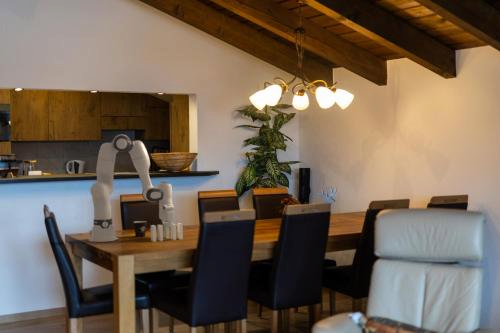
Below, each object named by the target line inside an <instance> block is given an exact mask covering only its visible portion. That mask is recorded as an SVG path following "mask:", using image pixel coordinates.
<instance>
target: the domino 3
mask: <svg viewBox="0 0 500 333" xmlns="http://www.w3.org/2000/svg"><path fill="white" fill-rule="evenodd" d="M163 239H170V228H167V221H165V222H164V226H163Z"/></svg>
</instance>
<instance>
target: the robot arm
mask: <svg viewBox="0 0 500 333" xmlns="http://www.w3.org/2000/svg"><path fill="white" fill-rule="evenodd" d="M119 152H122V153H124V152H127V153H128V154H129V155H130V158H131V161H132V164H133V166H134V168H135V170H136V172H137V173H138V175H139V179H140V182H141V186H142V193H141V194H142V198H143V200H144V201H146V202H150V203H156V202H158V209H159V210H158V219H160V220H161V223H162V224H161V225H163V227H164V222H167V228H169V229H171V224H172V222H174V220H175V219H174V218H175V217H174V216H175V211H174V210H175V205H174V204H173V188H172V187H173V186H172V184H171V183H170V182H166V181H160V182H158V183H157V184H155V185H153V184H152V180H151V178H150V174H149V173H150V172H149V170H150V166H151V162H150V161H151V160H150V156H149V153H148V151H147V148H146V146H145V144H144V143H143V141H141V140H133V141H132V140H131V139H130V137H129V136H128V135H126V134H123V133H121V134H118V135H116V136H115V137H114V139H113V140H112V141H111V142H104V143H101V146H100V148H99V151H98V156H97V161H96V169H95V172H96V182H94V183H93V184H92V185H91V186H90V191H89V192H90V196H91V199H92V203H93V226H92V228H91V229H90V230H89V235H90V236H89V237H88V242H94V243H95V242H96V243H97V242H98V243H101V242H103V243H105V242H113V241H117V240H119V238H118V237H116V229H115V228H116V227H115V226H114V225H113V221H114V220H113V218H112V215H113V214H112V205H111V202H110V196H111V195H112V194H113V193H114V188H115V186H114V170H115V163H116V157H117V156H116V155H117V154H118V153H119Z"/></svg>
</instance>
